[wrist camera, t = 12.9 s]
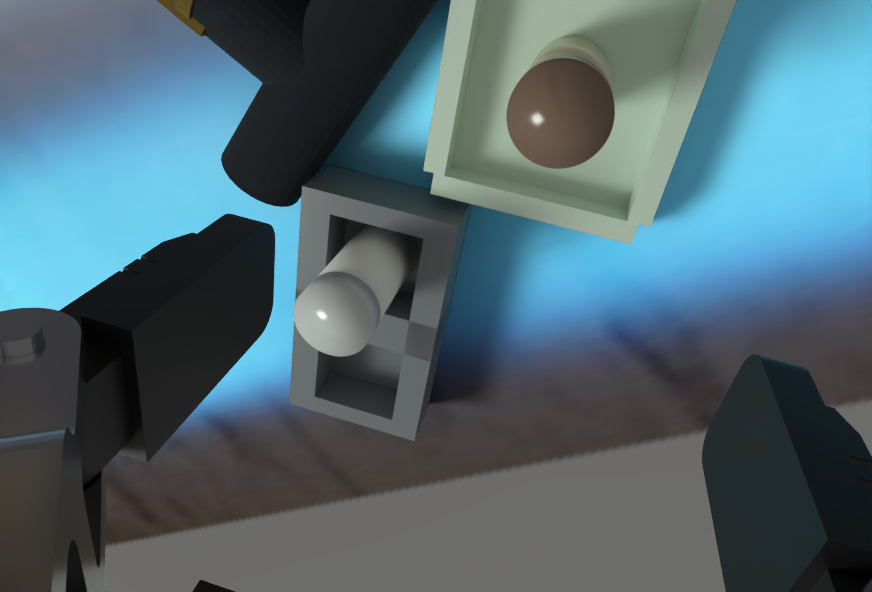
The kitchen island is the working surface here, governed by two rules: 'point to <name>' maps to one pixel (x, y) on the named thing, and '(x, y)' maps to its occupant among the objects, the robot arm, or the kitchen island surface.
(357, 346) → the cylinder
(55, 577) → the robot arm
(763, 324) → the kitchen island surface
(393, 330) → the fuse block
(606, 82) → the cylinder
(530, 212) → the parts tray
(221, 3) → the pipe connector
